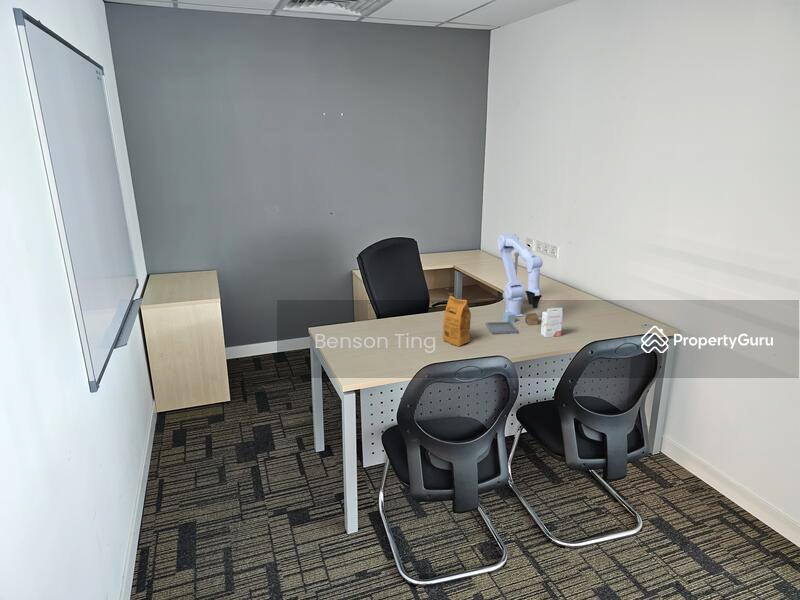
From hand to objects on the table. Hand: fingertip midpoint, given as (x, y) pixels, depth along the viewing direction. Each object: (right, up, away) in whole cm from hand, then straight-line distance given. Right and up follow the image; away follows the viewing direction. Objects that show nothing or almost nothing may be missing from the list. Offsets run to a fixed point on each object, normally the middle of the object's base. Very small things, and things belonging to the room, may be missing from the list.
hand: (532, 306), depth 271 cm
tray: (-17, -12, -5) cm, 21 cm away
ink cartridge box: (+6, -14, -12) cm, 20 cm away
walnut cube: (0, -9, +3) cm, 10 cm away
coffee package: (-42, -17, -20) cm, 50 cm away
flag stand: (-2, +2, +38) cm, 38 cm away
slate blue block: (-11, -8, +6) cm, 15 cm away
